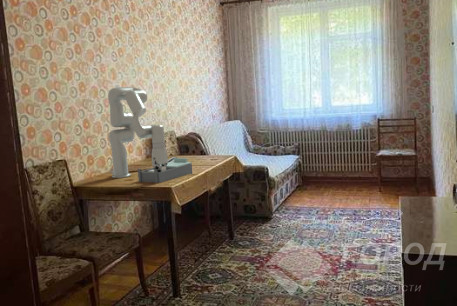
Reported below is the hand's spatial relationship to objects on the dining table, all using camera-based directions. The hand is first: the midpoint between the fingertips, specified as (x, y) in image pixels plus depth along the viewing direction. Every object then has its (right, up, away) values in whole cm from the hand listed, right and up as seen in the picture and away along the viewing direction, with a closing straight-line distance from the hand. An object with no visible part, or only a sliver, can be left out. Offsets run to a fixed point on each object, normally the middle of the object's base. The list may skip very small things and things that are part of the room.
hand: (161, 175), depth 265 cm
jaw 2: (0, 0, 0) cm, 0 cm away
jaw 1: (-5, -3, +4) cm, 7 cm away
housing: (+2, -3, +9) cm, 9 cm away
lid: (+6, +6, +15) cm, 17 cm away
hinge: (+2, +1, +42) cm, 42 cm away
